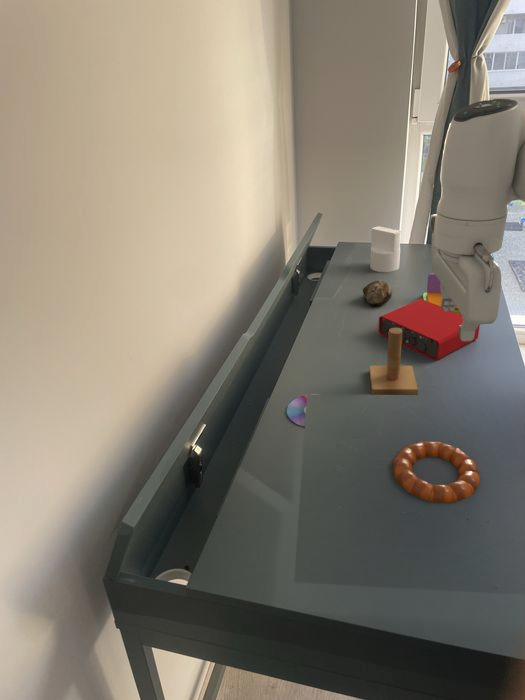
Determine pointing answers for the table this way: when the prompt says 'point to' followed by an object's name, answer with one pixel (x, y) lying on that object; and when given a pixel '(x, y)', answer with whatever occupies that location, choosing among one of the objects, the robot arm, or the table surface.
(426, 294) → the dollhouse room
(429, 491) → the ring
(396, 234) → the cylinder with rectangular tab
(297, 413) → the cd
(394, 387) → the stand
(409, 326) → the red device housing
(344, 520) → the table surface
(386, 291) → the fossilized seashell
